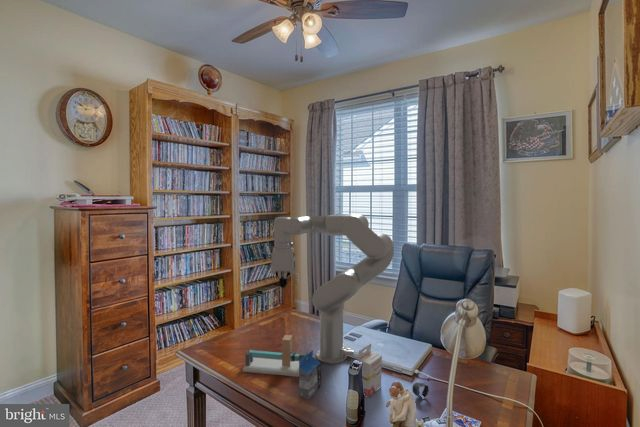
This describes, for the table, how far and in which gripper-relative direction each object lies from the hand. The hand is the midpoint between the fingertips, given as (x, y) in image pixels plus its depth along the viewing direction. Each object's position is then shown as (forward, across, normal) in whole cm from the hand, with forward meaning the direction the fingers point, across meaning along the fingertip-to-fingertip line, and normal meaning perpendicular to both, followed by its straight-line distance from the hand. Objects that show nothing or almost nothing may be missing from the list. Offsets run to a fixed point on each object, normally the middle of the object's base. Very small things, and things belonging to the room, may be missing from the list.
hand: (283, 286), depth 143 cm
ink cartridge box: (+27, -38, +26) cm, 54 cm away
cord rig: (+27, -2, +17) cm, 32 cm away
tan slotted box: (+25, -6, +17) cm, 31 cm away
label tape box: (+27, -18, +30) cm, 44 cm away
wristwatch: (+27, -55, +28) cm, 67 cm away
